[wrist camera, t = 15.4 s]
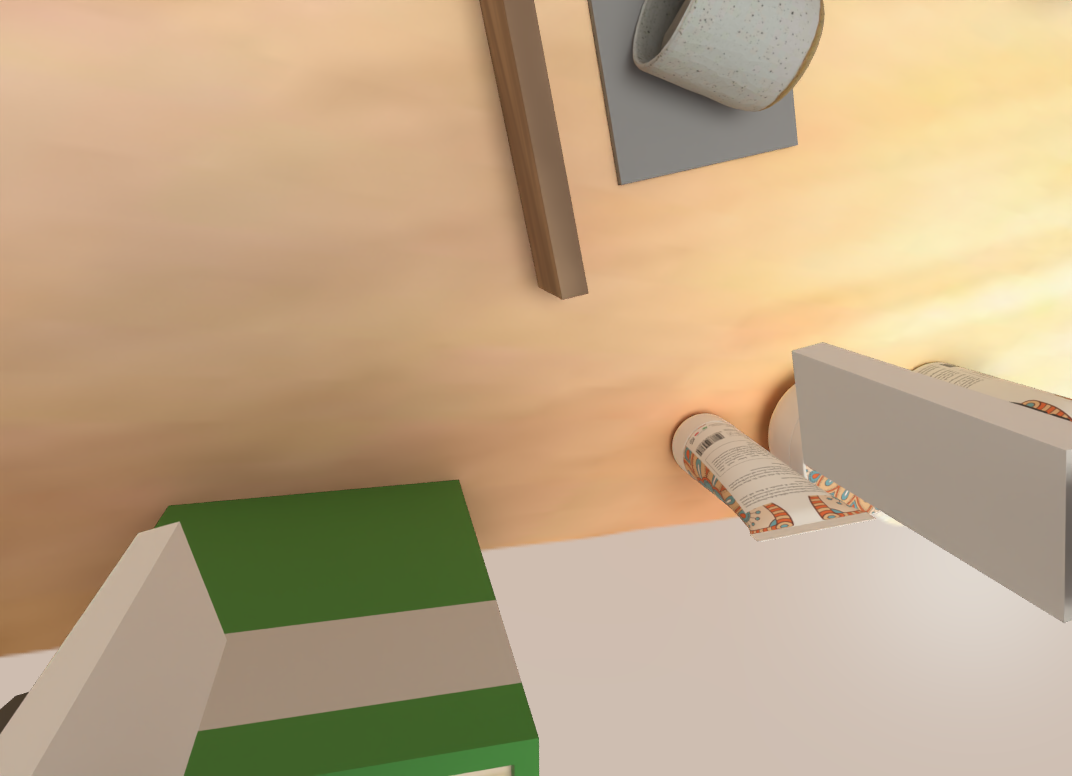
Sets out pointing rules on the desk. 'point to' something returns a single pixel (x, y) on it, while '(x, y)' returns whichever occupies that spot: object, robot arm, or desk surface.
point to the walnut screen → (535, 144)
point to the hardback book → (355, 638)
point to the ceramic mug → (729, 46)
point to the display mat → (672, 110)
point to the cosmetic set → (782, 477)
